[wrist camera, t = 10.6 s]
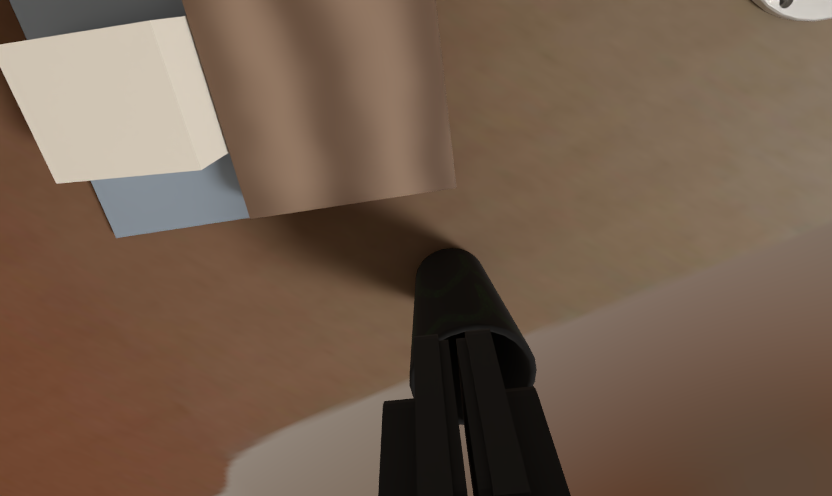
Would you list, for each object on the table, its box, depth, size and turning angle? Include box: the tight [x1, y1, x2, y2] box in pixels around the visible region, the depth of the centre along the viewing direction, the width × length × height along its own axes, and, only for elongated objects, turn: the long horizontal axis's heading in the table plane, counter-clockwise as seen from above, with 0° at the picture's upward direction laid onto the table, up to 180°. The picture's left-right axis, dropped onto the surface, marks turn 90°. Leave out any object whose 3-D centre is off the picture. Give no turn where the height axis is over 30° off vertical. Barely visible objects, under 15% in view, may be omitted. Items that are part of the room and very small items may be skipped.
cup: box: [410, 248, 536, 425], centre depth 36 cm, size 8×8×12 cm
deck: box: [182, 0, 456, 219], centre depth 32 cm, size 14×16×4 cm
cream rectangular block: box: [0, 16, 229, 184], centre depth 30 cm, size 10×8×4 cm
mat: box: [9, 0, 250, 238], centre depth 34 cm, size 11×18×1 cm, turn 8°
